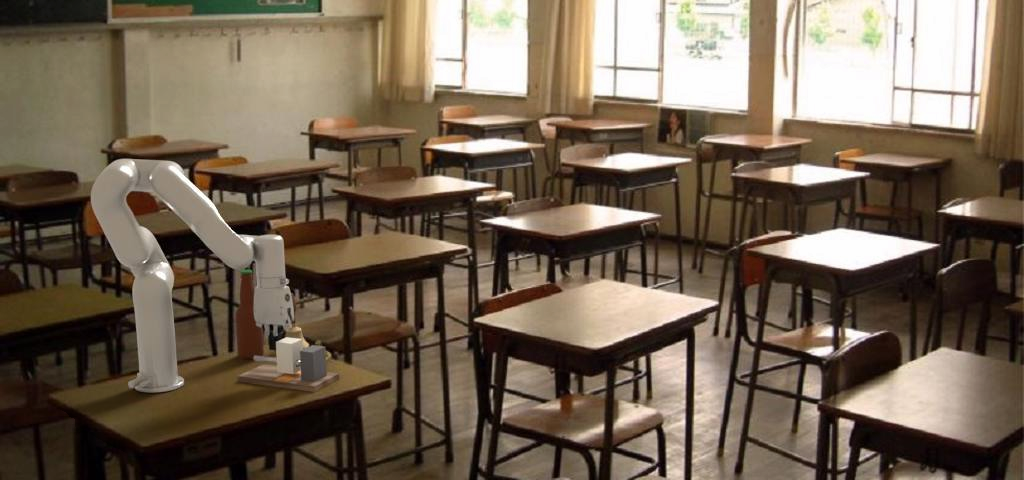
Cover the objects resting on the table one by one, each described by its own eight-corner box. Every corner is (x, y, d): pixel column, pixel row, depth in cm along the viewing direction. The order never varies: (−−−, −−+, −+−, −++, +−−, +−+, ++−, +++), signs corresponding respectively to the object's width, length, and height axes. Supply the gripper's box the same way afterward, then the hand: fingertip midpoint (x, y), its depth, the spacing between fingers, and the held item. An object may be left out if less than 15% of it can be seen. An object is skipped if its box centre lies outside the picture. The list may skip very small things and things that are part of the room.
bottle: (267, 353, 358) (262, 267, 353) (259, 360, 350) (254, 273, 346) (242, 352, 358) (238, 267, 354) (234, 359, 351) (229, 273, 347)
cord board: (314, 392, 321) (314, 385, 321) (237, 381, 331) (237, 375, 331) (339, 378, 332) (339, 372, 332) (264, 369, 342) (264, 363, 342)
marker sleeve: (293, 374, 328) (291, 343, 326) (277, 371, 330) (275, 342, 328) (303, 368, 332) (302, 339, 331) (288, 366, 334) (286, 337, 333)
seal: (326, 371, 344) (335, 355, 358) (327, 355, 343) (336, 340, 357) (292, 368, 344) (302, 352, 358) (293, 351, 343) (303, 336, 357)
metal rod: (305, 367, 328) (305, 362, 328) (253, 361, 335) (253, 356, 334) (308, 366, 329) (308, 361, 329) (256, 359, 336) (256, 354, 336)
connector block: (314, 382, 325) (312, 352, 323) (301, 380, 326) (299, 350, 325) (326, 375, 330) (325, 346, 329) (313, 374, 332) (312, 345, 330)
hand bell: (285, 352, 358) (282, 298, 355) (276, 345, 365) (273, 292, 362) (312, 348, 362) (310, 294, 359) (303, 341, 369) (301, 289, 366)
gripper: (303, 280, 329) (306, 348, 332) (256, 276, 335) (260, 342, 338) (287, 287, 322) (291, 355, 326) (239, 282, 328) (243, 350, 332)
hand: (275, 348), depth 332 cm, fingers closed
